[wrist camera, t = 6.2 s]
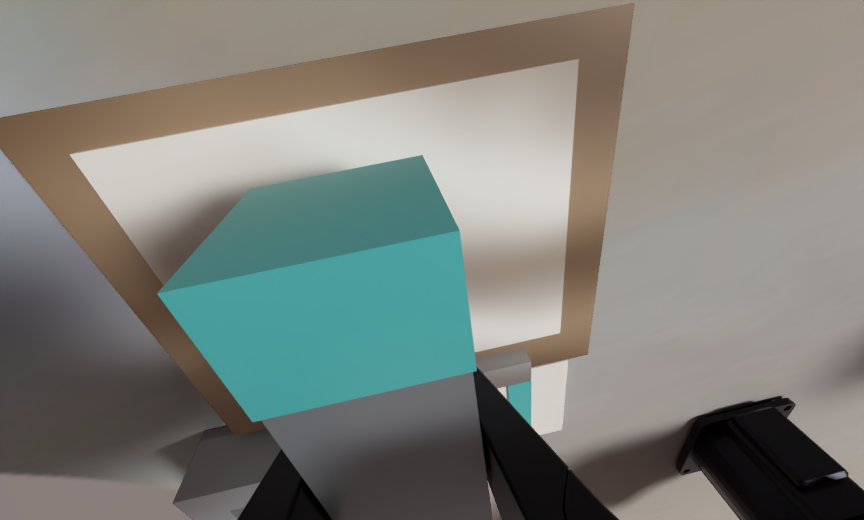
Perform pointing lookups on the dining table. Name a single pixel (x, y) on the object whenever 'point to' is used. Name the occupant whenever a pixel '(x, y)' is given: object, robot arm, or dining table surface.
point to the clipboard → (357, 147)
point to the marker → (348, 337)
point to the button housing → (225, 473)
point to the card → (541, 396)
